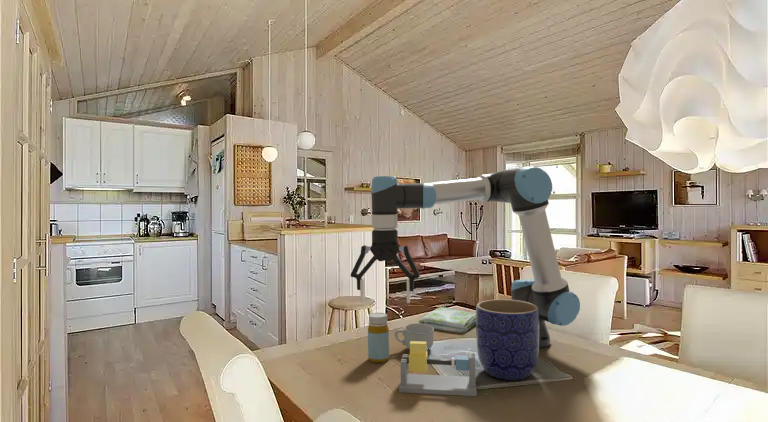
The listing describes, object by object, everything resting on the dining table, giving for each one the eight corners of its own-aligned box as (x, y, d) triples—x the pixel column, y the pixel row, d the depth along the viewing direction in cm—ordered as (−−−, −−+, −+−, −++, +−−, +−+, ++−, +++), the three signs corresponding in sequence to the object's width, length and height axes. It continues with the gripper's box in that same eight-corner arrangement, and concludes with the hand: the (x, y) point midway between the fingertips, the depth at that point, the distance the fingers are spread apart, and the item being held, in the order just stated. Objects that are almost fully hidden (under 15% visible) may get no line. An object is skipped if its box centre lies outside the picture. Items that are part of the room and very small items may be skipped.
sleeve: (427, 366, 126) (427, 340, 126) (426, 372, 122) (426, 345, 122) (410, 365, 127) (410, 339, 127) (409, 371, 123) (408, 344, 123)
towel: (465, 334, 172) (464, 322, 172) (417, 327, 184) (417, 315, 183) (481, 323, 187) (481, 311, 187) (436, 317, 199) (436, 306, 199)
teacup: (434, 344, 160) (433, 323, 159) (434, 355, 149) (434, 332, 149) (396, 344, 161) (395, 322, 161) (394, 354, 150) (393, 331, 150)
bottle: (367, 356, 149) (367, 312, 149) (388, 355, 150) (387, 311, 149) (368, 363, 142) (368, 318, 142) (390, 362, 143) (389, 317, 142)
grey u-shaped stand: (475, 381, 127) (474, 349, 127) (476, 396, 117) (476, 362, 117) (403, 377, 130) (403, 347, 130) (399, 392, 120) (398, 359, 120)
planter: (496, 357, 145) (496, 296, 145) (550, 372, 132) (549, 305, 132) (464, 373, 132) (463, 306, 132) (520, 392, 119) (519, 317, 119)
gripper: (428, 228, 129) (428, 299, 129) (346, 228, 133) (346, 297, 133) (426, 229, 122) (427, 305, 122) (339, 230, 125) (340, 303, 126)
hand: (385, 301), depth 128 cm, fingers open, 13 cm apart
